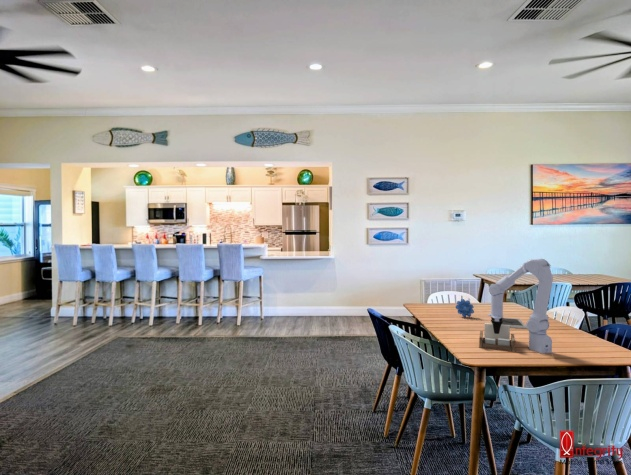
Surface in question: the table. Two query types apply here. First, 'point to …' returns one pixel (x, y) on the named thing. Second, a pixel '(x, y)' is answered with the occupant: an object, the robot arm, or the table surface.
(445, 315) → the table surface
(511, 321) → the square clock
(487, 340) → the offcut
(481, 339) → the rack
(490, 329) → the cream rectangular slab
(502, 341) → the offcut
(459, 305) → the blue flower
